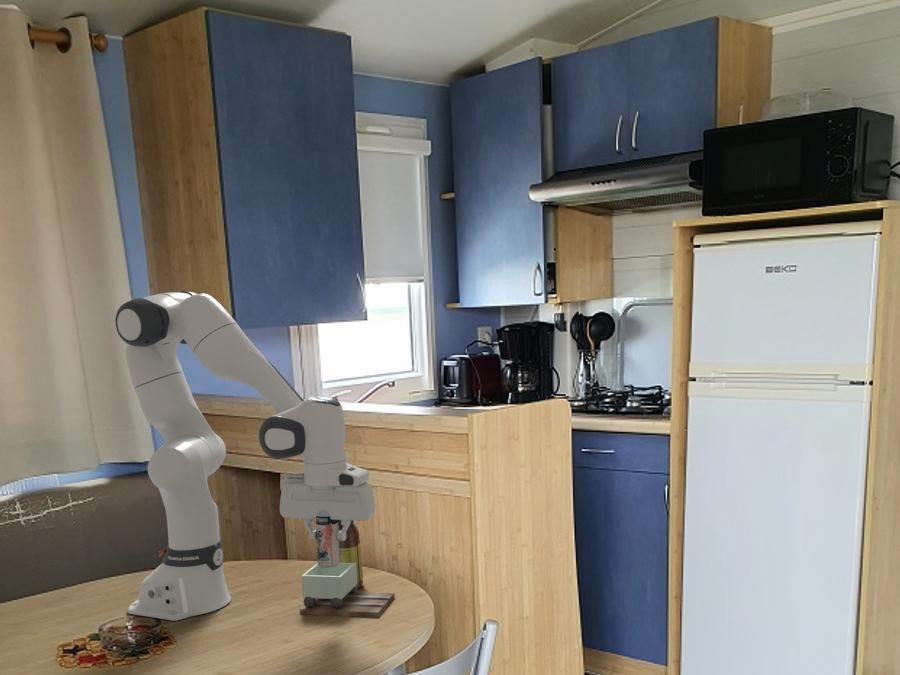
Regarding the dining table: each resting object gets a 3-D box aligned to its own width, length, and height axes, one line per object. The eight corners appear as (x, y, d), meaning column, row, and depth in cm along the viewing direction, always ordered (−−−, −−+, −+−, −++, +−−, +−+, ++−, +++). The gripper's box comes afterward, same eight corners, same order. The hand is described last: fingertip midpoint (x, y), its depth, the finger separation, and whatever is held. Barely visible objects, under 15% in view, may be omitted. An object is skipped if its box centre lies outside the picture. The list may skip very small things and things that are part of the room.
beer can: (312, 565, 155) (310, 509, 154) (330, 559, 158) (328, 504, 158) (326, 570, 152) (324, 512, 151) (345, 564, 155) (342, 507, 155)
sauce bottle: (350, 580, 180) (345, 499, 180) (369, 584, 176) (364, 502, 176) (330, 589, 175) (325, 505, 174) (349, 593, 171) (344, 508, 171)
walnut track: (300, 613, 161) (299, 607, 161) (320, 594, 171) (320, 588, 171) (378, 617, 156) (377, 610, 156) (394, 597, 167) (394, 591, 167)
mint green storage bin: (302, 607, 161) (301, 576, 161) (320, 591, 170) (318, 561, 170) (342, 609, 159) (340, 577, 159) (358, 592, 168) (356, 562, 168)
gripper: (273, 476, 154) (275, 542, 154) (365, 478, 149) (368, 546, 149) (286, 470, 160) (289, 533, 160) (376, 471, 155) (378, 537, 155)
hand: (327, 539), depth 155 cm, fingers closed on beer can, 5 cm apart
